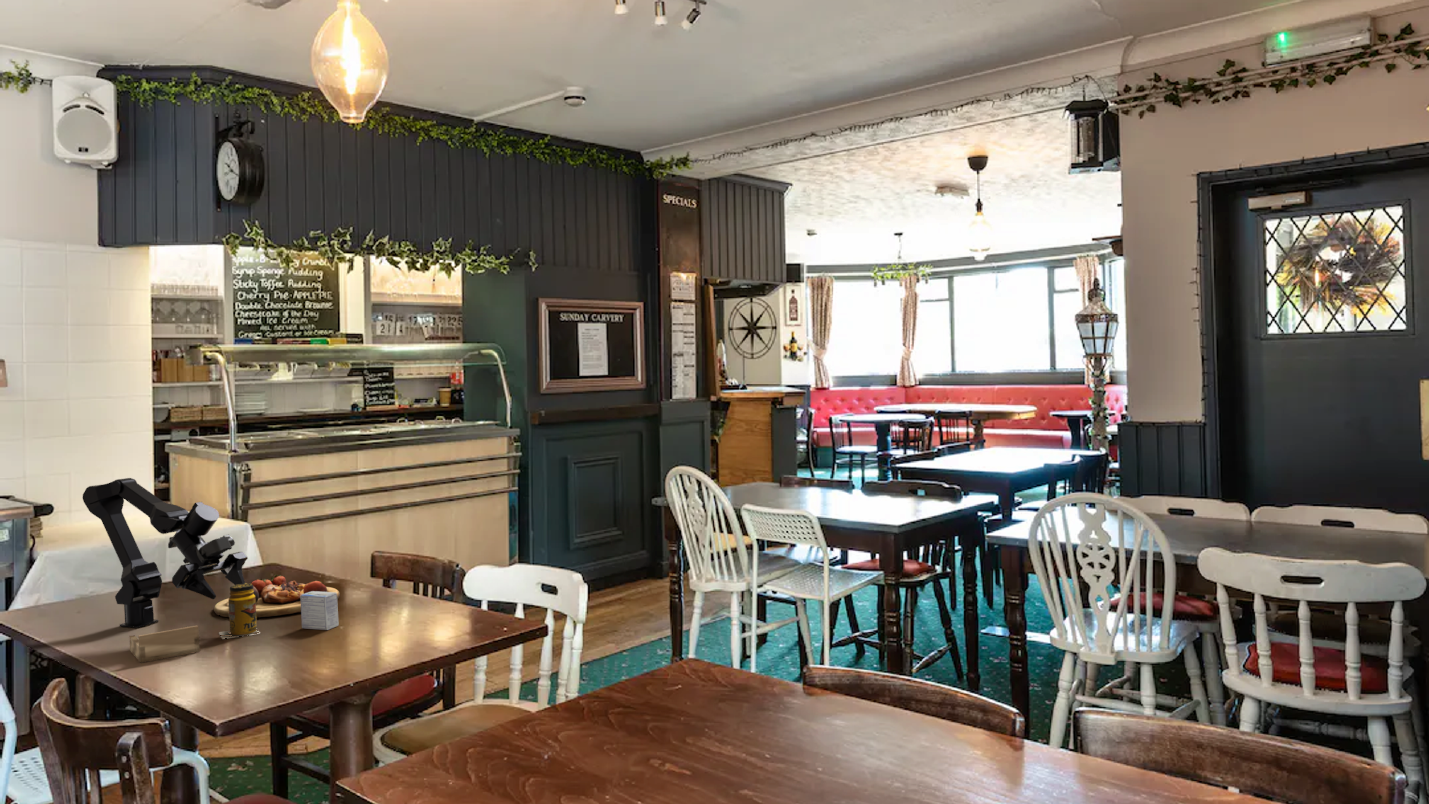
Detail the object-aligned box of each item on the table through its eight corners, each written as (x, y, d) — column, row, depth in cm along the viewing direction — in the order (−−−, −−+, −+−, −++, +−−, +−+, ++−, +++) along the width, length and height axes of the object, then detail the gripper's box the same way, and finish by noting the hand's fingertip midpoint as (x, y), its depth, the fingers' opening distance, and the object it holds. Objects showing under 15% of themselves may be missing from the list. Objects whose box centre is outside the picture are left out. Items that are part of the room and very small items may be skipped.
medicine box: (339, 626, 247) (337, 592, 247) (326, 630, 243) (325, 596, 242) (313, 624, 249) (312, 590, 249) (301, 628, 245) (299, 594, 245)
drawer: (130, 650, 229) (128, 625, 229) (187, 640, 237) (185, 616, 237) (140, 662, 219) (139, 636, 219) (199, 651, 227) (198, 626, 227)
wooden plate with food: (364, 599, 277) (362, 570, 277) (259, 624, 250) (257, 592, 250) (295, 590, 294) (293, 563, 294) (190, 613, 268) (188, 583, 267)
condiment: (260, 634, 242) (258, 585, 241) (222, 640, 237) (220, 591, 236) (255, 627, 248) (253, 580, 247) (218, 633, 243) (216, 585, 243)
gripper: (177, 532, 235) (215, 579, 232) (240, 520, 253) (275, 564, 249) (155, 564, 238) (192, 611, 235) (218, 549, 256) (253, 593, 252)
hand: (230, 593), depth 243 cm, fingers open, 9 cm apart
